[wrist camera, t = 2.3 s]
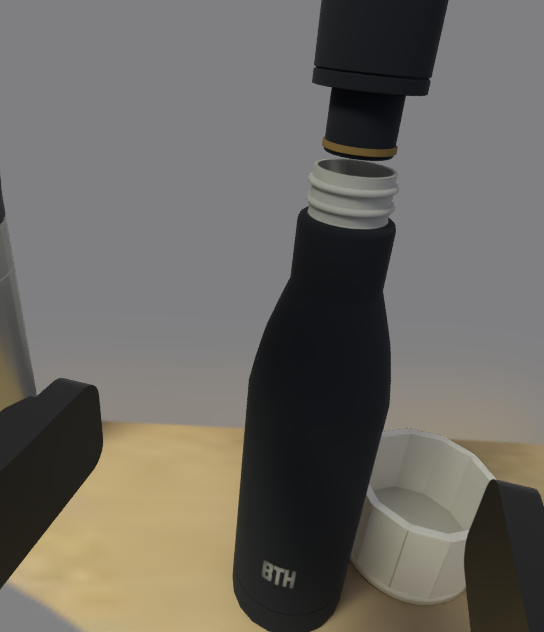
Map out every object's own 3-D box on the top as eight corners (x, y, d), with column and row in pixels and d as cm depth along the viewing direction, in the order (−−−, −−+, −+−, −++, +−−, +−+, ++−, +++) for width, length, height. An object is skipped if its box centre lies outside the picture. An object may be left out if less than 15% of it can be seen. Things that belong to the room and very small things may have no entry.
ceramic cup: (333, 581, 30) (349, 515, 27) (348, 478, 37) (362, 417, 34) (481, 623, 28) (514, 558, 26) (466, 507, 36) (491, 446, 33)
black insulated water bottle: (317, 525, 33) (422, -8, 19) (358, 620, 28) (549, -21, 14) (222, 544, 31) (259, -32, 17) (247, 650, 26) (332, -57, 12)
